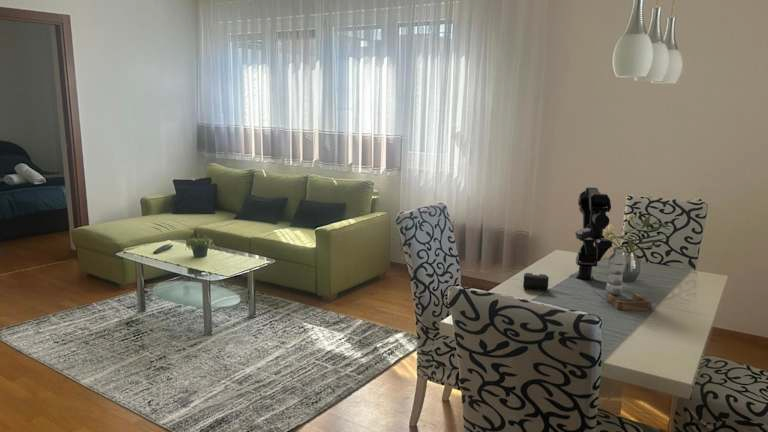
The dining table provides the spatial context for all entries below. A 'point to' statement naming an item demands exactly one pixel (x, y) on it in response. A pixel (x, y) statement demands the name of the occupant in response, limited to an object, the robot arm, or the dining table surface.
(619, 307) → the walnut collar
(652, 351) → the dining table surface
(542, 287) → the end cap
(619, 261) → the plastic bottle
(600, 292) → the felt coaster
